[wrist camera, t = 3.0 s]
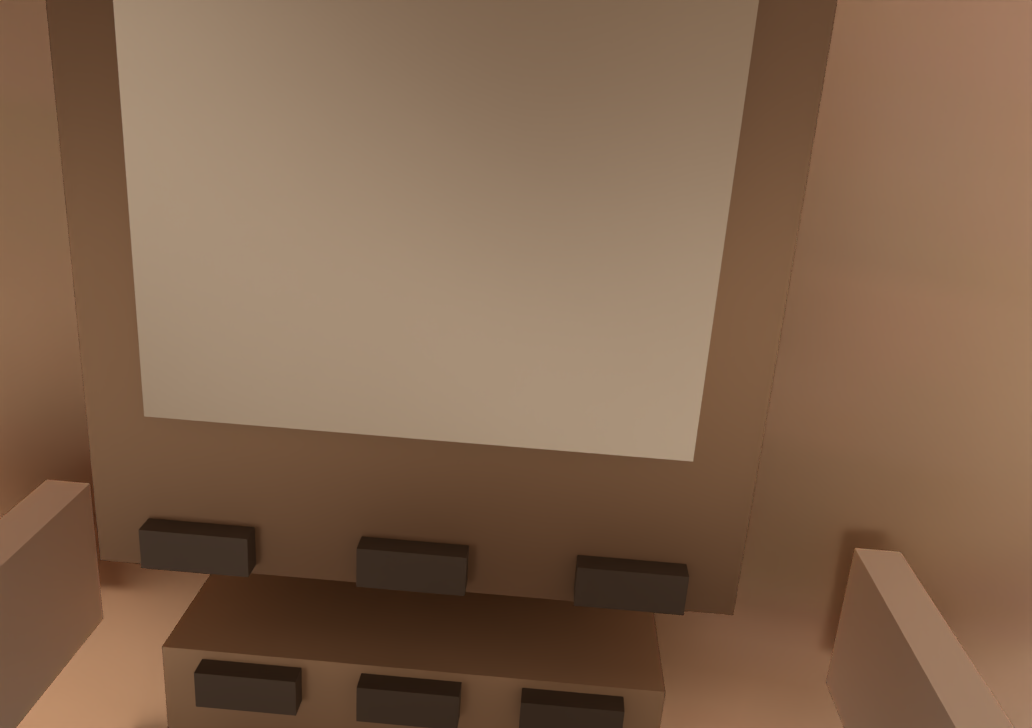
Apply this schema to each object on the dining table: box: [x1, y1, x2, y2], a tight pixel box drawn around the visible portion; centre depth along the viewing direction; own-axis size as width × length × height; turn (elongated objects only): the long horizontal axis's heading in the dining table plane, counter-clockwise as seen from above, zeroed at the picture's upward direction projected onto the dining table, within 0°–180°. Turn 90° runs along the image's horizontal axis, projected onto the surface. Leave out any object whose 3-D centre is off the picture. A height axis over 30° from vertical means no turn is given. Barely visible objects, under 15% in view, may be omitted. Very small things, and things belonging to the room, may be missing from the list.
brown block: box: [162, 573, 665, 728], centre depth 13 cm, size 6×5×7 cm
